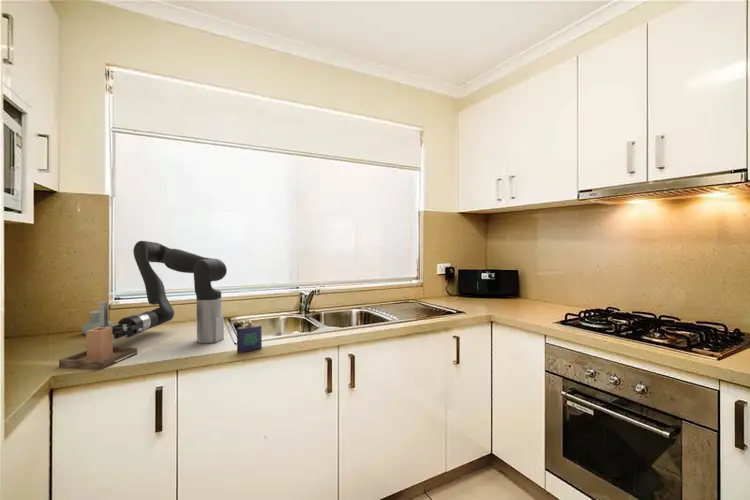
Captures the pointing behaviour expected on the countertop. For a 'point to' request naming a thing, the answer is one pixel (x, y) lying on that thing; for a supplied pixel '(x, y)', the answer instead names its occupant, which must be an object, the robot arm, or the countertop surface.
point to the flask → (249, 338)
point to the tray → (86, 364)
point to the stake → (103, 313)
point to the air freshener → (93, 321)
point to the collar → (99, 343)
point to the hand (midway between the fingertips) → (102, 336)
